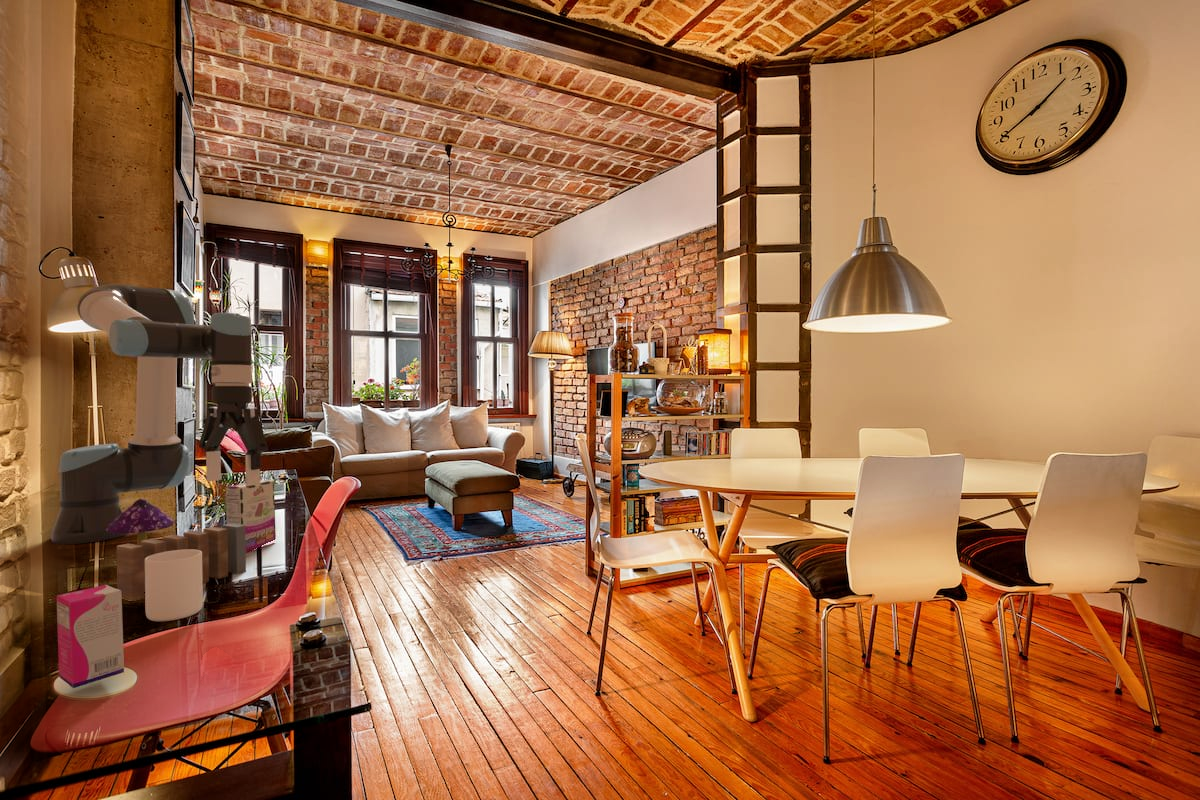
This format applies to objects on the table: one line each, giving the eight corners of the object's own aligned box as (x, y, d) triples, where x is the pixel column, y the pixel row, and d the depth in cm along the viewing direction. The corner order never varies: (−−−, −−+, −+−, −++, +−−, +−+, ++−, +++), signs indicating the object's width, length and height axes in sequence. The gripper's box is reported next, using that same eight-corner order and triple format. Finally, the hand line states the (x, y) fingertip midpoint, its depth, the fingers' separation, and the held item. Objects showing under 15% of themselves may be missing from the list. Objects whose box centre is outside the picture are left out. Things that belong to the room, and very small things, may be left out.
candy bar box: (259, 543, 159) (258, 479, 159) (276, 543, 158) (275, 480, 158) (225, 554, 148) (224, 486, 148) (243, 555, 147) (242, 486, 147)
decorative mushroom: (133, 575, 132) (132, 504, 132) (92, 570, 136) (91, 502, 136) (188, 559, 144) (187, 495, 143) (149, 555, 147) (148, 493, 147)
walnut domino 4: (198, 584, 125) (198, 535, 125) (184, 581, 127) (183, 532, 127) (208, 581, 127) (208, 532, 127) (194, 578, 129) (193, 530, 129)
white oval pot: (143, 606, 112) (142, 550, 112) (197, 597, 117) (197, 543, 117) (146, 626, 102) (145, 564, 102) (205, 614, 108) (204, 555, 107)
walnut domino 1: (132, 602, 114) (131, 548, 114) (117, 598, 117) (116, 545, 116) (144, 599, 116) (143, 546, 116) (129, 595, 118) (128, 543, 118)
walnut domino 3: (177, 589, 121) (177, 539, 121) (163, 586, 124) (162, 536, 124) (188, 587, 123) (187, 537, 123) (173, 583, 125) (173, 534, 125)
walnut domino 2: (155, 595, 118) (155, 543, 118) (141, 592, 120) (140, 541, 120) (167, 592, 120) (166, 541, 120) (152, 589, 122) (151, 538, 122)
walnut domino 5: (218, 578, 129) (217, 531, 128) (204, 575, 131) (203, 528, 131) (228, 576, 130) (227, 529, 130) (213, 573, 133) (212, 526, 133)
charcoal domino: (237, 573, 132) (236, 527, 132) (222, 570, 134) (221, 525, 134) (245, 571, 134) (245, 525, 134) (231, 568, 136) (230, 523, 136)
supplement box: (109, 662, 89) (107, 582, 88) (125, 672, 85) (123, 590, 85) (57, 677, 84) (55, 594, 84) (71, 689, 80) (70, 602, 80)
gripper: (179, 385, 136) (180, 481, 136) (252, 384, 125) (253, 489, 125) (214, 385, 143) (215, 476, 143) (285, 385, 131) (286, 484, 132)
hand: (232, 482), depth 134 cm, fingers open, 13 cm apart
